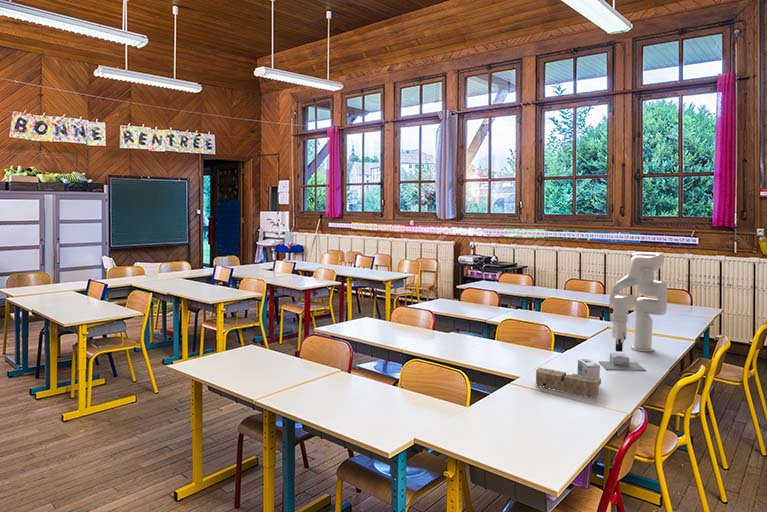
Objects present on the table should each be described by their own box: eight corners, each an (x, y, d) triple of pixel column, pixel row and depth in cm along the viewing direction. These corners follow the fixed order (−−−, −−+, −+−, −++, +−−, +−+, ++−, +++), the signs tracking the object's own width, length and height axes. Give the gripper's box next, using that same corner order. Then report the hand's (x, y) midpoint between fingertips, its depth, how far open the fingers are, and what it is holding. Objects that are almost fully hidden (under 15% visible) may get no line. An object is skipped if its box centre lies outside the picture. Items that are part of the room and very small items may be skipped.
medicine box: (624, 353, 297) (629, 357, 288) (623, 361, 297) (629, 365, 289) (609, 353, 298) (614, 357, 289) (609, 361, 298) (614, 365, 290)
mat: (598, 362, 298) (598, 361, 297) (636, 363, 296) (636, 362, 296) (606, 369, 284) (606, 368, 284) (645, 371, 282) (645, 369, 282)
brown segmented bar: (533, 388, 259) (596, 399, 241) (533, 371, 258) (596, 381, 240) (540, 383, 265) (601, 394, 247) (540, 367, 264) (601, 376, 246)
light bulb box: (576, 380, 267) (577, 359, 266) (589, 379, 268) (590, 358, 267) (586, 387, 257) (587, 365, 256) (599, 386, 257) (600, 365, 256)
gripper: (608, 315, 300) (607, 347, 302) (617, 321, 285) (616, 354, 287) (622, 315, 299) (621, 347, 301) (632, 321, 285) (630, 355, 286)
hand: (618, 351), depth 294 cm, fingers closed
